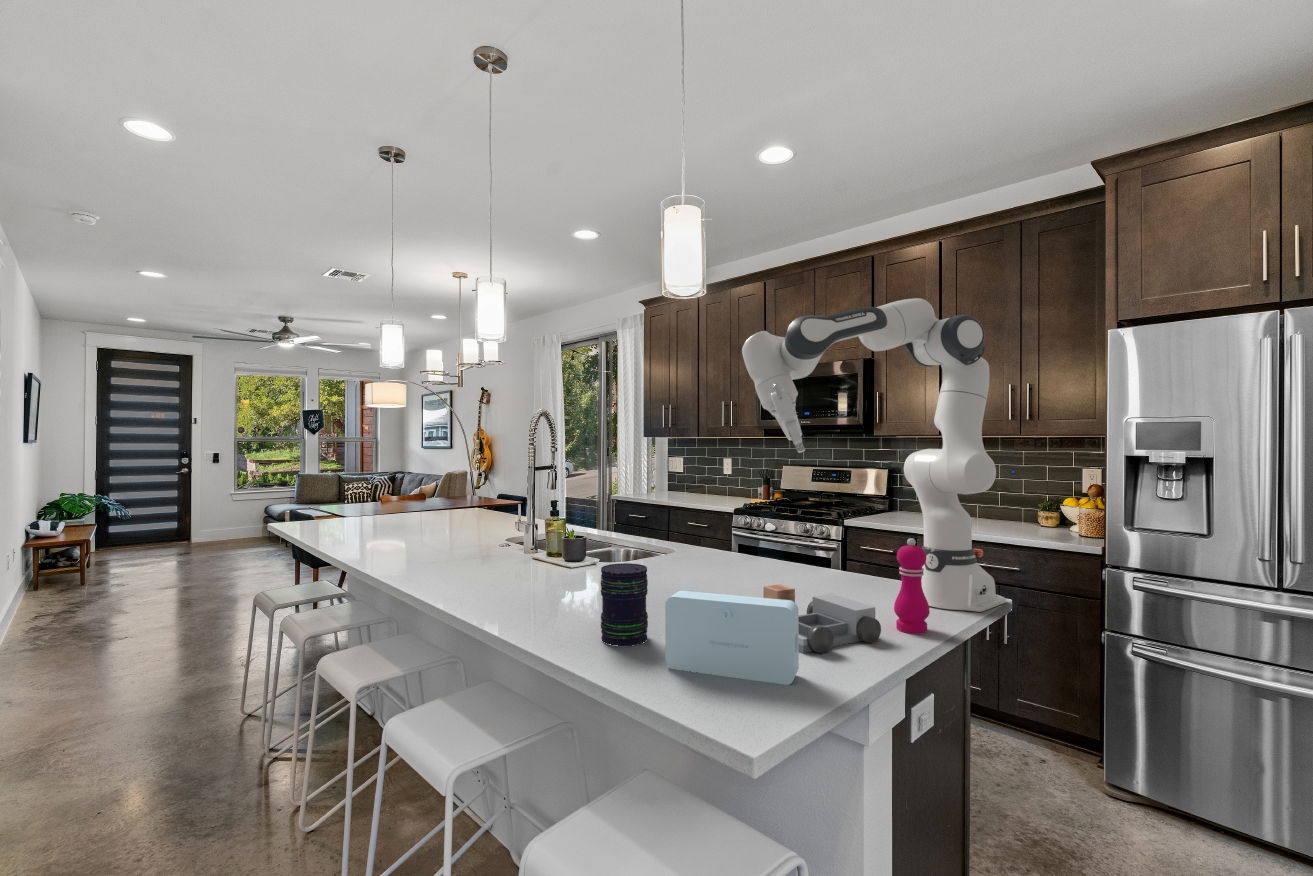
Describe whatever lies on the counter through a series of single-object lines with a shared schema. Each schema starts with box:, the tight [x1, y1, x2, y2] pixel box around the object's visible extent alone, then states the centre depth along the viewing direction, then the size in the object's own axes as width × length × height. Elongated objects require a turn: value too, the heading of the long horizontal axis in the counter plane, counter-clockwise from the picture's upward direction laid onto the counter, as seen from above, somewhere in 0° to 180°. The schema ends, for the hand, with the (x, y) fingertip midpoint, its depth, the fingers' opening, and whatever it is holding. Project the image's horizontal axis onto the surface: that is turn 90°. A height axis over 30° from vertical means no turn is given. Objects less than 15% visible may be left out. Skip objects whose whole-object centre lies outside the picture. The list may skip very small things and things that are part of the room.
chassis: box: [798, 593, 882, 655], centre depth 134 cm, size 20×17×6 cm
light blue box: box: [664, 590, 800, 686], centre depth 114 cm, size 23×6×13 cm, turn 69°
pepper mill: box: [893, 537, 930, 635], centre depth 139 cm, size 7×7×20 cm
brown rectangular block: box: [762, 583, 796, 603], centre depth 144 cm, size 5×5×8 cm
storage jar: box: [600, 562, 649, 647], centre depth 133 cm, size 10×10×15 cm
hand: (800, 446), depth 146 cm, fingers open, 8 cm apart
